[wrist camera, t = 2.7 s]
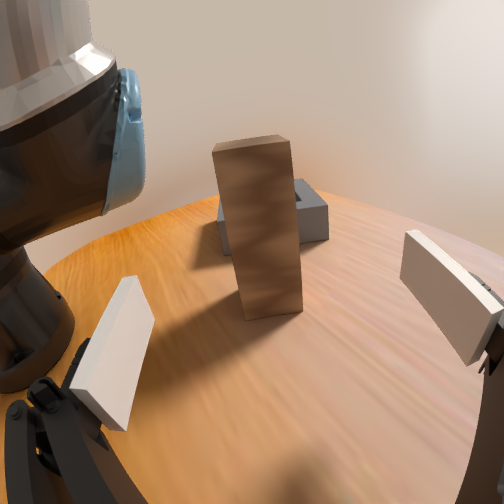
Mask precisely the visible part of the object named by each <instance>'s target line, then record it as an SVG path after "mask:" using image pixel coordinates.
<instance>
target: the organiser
mask: <svg viewBox="0 0 504 504" xmlns="http://www.w3.org/2000/svg"><path fill="white" fill-rule="evenodd" d="M294 186H295V197H296V208H297V220H298V233H299V244H301V243H308V242H314V241H320V240H327V239H329V222H328V205H327V204H326V202H325V201H324V200H323V199H322V198H321V197H320V196H319V195H318V194H317V193H316V192H315V191H314V190H313V189H312V188H311V187H310V186H309V185H308V184H307V183H306V182H305V181H304V180H303V179H294ZM217 224H218V229H219V234H220V238H221V243H222V248H223V252H224V256H225V255H231V250H230V245H229V240H228V235H227V230H226V225H225V220H224V215H223V210H222V204H221V199H220V201H219V209H218V217H217Z"/></svg>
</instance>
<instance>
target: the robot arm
mask: <svg viewBox="0 0 504 504" xmlns="http://www.w3.org/2000/svg"><path fill="white" fill-rule="evenodd" d="M141 114H142V113H141V96H140V88H139V83H138V78H137V75H136V73H135V71H134V70H130V69H129V70H126V69H124V68H122V69H119V70H117V65H116V57H115V53H114V52H113V51H112V50H110V49H108V48H106V47H104V46H103V45H101V44H99V43H97V42H95V41H94V40H93V39H92V34H91V26H90V17H89V5H88V0H0V392H1V393H11V392H16V391H19V390H21V389H24V388H26V387H28V386H30V385H31V386H30V387H29V389H28V392H27V399H28V400H29V401H30V402H31V403H32V404H33V405H34V406H35V407H30V406H29V405H28V404H27V403H26V402H25V401H23V400H16V401H14V402H13V403H11V405H10V406H9V408H8V409H7V412H6V420H5V444H4V455H5V479H6V490H7V499H8V504H148V502H147V501H146V500H145V498H144V497H143V496H142V494H141V493H140V492H139V490H138V489H137V487H136V486H135V484H134V483H133V481H132V480H131V478H130V477H129V475H128V474H127V472H126V471H125V469H124V468H123V466H122V464H121V463H120V461H119V459H118V458H117V456H116V454H115V453H114V451H113V449H112V448H111V446H110V444H109V442H108V440H107V438H106V437H105V435H104V433H103V432H102V431H101V430H100V428H101V424H102V423H103V424H104V425H105V426H106V427H107V428H108V429H109V430H115V431H124V432H126V430H127V426H128V421H129V416H130V412H131V408H132V403H133V399H134V395H135V391H136V387H137V383H138V379H139V375H140V371H141V367H142V363H143V360H144V356H145V352H146V349H147V345H148V342H149V338H150V335H151V331H152V328H153V325H154V321H155V318H154V316H153V314H152V311H151V309H150V307H149V304H148V302H147V300H146V297H145V295H144V293H143V290H142V288H141V285H140V283H139V280H138V278H137V275H135V276H128V277H123V278H122V280H121V282H120V283H119V285H118V287H117V289H116V291H115V292H114V294H113V296H112V298H111V300H110V302H109V304H108V306H107V308H106V309H105V311H104V313H103V315H102V317H101V319H100V321H99V323H98V325H97V327H96V329H95V331H94V333H93V335H92V338H87V339H86V340H85V341H84V342H83V343H82V344H81V345H80V346H79V348H78V350H77V352H76V354H75V358H74V359H73V361H72V363H71V364H72V365H70V367H69V370H68V372H67V374H66V376H65V379H64V381H63V383H62V386H61V388H59V387H58V386H57V385H56V383H55V382H54V381H53V380H52V379H51V378H49V377H42V376H43V375H45V374H46V373H47V372H48V371H49V370H50V369H51V368H52V367H53V366H54V364H55V363H56V362H57V361H58V360H59V358H60V357H61V356H62V354H63V353H64V351H65V349H66V348H67V346H68V344H69V342H70V340H71V337H72V334H73V331H74V324H75V320H74V315H73V313H72V311H71V309H70V308H69V306H68V304H67V302H66V300H65V299H64V297H63V296H62V295H61V294H60V293H59V292H58V291H56V290H55V289H54V288H53V286H52V285H51V284H50V283H49V282H48V281H47V280H46V279H45V278H44V276H43V275H42V274H41V273H40V272H39V271H38V270H37V269H36V268H35V267H34V266H33V264H32V263H31V262H30V260H29V258H28V256H27V253H26V251H25V249H24V246H23V245H25V244H27V243H30V242H32V241H35V240H37V239H39V238H42V237H44V236H47V235H49V234H52V233H54V232H57V231H59V230H62V229H65V228H67V227H70V226H73V225H75V224H78V223H81V222H84V221H86V220H89V219H92V218H95V217H98V216H103V215H105V214H107V212H108V211H110V210H113V209H115V208H118V207H120V206H122V205H125V204H127V203H130V202H132V201H133V200H134V199H136V198H137V197H138V196H139V195H140V193H141V192H142V190H143V187H144V182H145V144H144V130H143V122H142V119H141ZM400 279H401V280H402V281H403V283H404V284H405V285H406V286H407V287H408V289H409V290H410V291H411V292H412V294H413V295H414V296H415V297H416V299H417V300H418V301H419V302H420V304H421V305H422V306H423V307H424V309H425V310H426V311H427V312H428V314H429V315H430V316H431V318H432V319H433V320H434V322H435V323H436V324H437V326H438V327H439V328H440V330H441V331H442V332H443V334H444V335H445V336H446V338H447V339H448V341H449V342H450V343H451V345H452V346H453V348H454V349H455V350H456V352H457V353H458V355H459V356H460V358H461V359H462V361H463V362H464V364H465V365H466V367H467V366H469V365H471V364H473V363H475V362H476V361H478V360H479V359H480V357H481V355H482V354H483V352H484V350H485V351H486V352H487V353H488V355H487V357H486V359H485V361H484V362H483V364H482V366H481V367H480V369H479V372H478V373H481V372H482V370H483V368H484V367H485V372H484V373H483V374H484V384H483V393H482V401H481V408H480V414H479V420H478V426H477V431H476V435H475V440H474V444H473V448H472V452H471V456H470V460H469V463H468V467H467V470H466V474H465V477H464V480H463V483H462V486H461V489H460V491H459V494H458V497H457V499H456V502H455V504H504V301H503V300H502V299H501V298H500V297H499V296H498V295H497V294H496V293H495V292H494V291H493V290H491V288H490V287H489V286H488V285H485V283H484V282H483V281H482V280H481V279H480V278H479V277H478V276H476V275H474V274H472V273H470V272H467V271H466V270H465V269H464V268H463V267H461V266H460V265H459V264H458V263H457V262H456V261H455V260H454V259H452V258H451V257H450V256H449V255H448V254H447V253H445V252H444V251H443V250H442V249H441V248H440V247H438V246H437V245H436V244H435V243H434V242H432V241H431V240H430V239H429V238H427V237H426V236H425V235H424V234H422V233H421V232H420V231H419V230H411V231H405V240H404V249H403V257H402V265H401V272H400ZM36 447H37V448H38V449H39V455H38V454H37V453H36Z"/></svg>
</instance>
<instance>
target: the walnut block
mask: <svg viewBox="0 0 504 504" xmlns="http://www.w3.org/2000/svg"><path fill="white" fill-rule="evenodd" d="M212 157H213V162H214V167H215V173H216V178H217V183H218V188H219V194H220V199H221V204H222V210H223V215H224V220H225V225H226V230H227V235H228V240H229V245H230V250H231V255H232V260H233V265H234V270H235V274H236V279H237V284H238V289H239V294H240V298H241V303H242V308H243V312H244V317H245V321H246V320H253V319H259V318H266V317H272V316H278V315H284V314H290V313H296V312H301V311H303V298H302V278H301V262H300V246H299V233H298V220H297V208H296V197H295V186H294V177H293V167H292V158H291V149H290V141H289V140H287V139H285V138H283V137H281V136H279V135H270V136H262V137H255V138H249V139H241V140H235V141H229V142H223V143H217V144H216V145H215V147H214V149H213V151H212Z"/></svg>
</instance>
